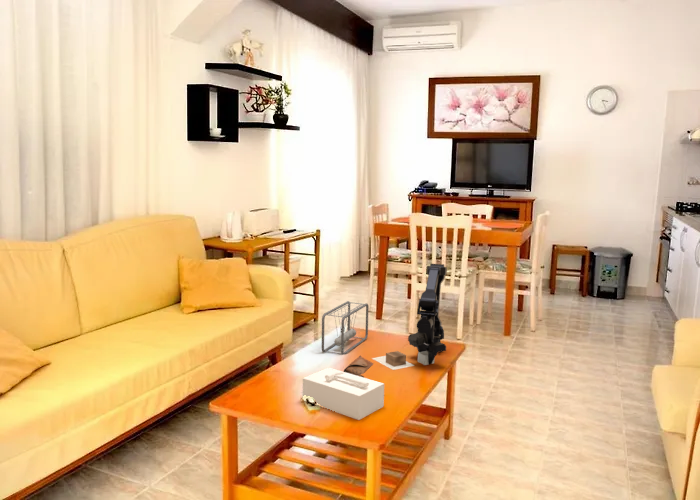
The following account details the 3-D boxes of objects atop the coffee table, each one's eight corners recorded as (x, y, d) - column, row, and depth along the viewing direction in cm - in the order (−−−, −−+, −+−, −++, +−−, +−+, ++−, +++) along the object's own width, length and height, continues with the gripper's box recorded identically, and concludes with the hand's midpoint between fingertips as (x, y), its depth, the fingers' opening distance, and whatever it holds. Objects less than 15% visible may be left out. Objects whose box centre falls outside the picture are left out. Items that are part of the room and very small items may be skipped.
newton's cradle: (342, 357, 262) (343, 317, 260) (321, 353, 266) (321, 314, 264) (368, 338, 290) (369, 302, 287) (348, 335, 294) (348, 300, 291)
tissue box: (328, 389, 226) (328, 361, 225) (383, 407, 211) (384, 377, 210) (302, 401, 215) (302, 371, 213) (358, 420, 200) (359, 389, 198)
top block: (426, 361, 258) (427, 350, 257) (434, 365, 254) (434, 354, 253) (417, 363, 256) (417, 352, 255) (424, 367, 251) (425, 355, 251)
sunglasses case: (363, 378, 237) (355, 363, 237) (348, 385, 240) (340, 370, 240) (376, 364, 254) (369, 350, 254) (363, 370, 256) (355, 356, 257)
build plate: (392, 356, 264) (392, 354, 264) (414, 367, 251) (415, 365, 250) (371, 360, 258) (371, 358, 258) (393, 372, 245) (393, 369, 245)
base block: (397, 360, 257) (397, 350, 256) (405, 364, 252) (406, 355, 251) (385, 362, 254) (386, 353, 253) (394, 366, 249) (394, 357, 248)
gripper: (398, 323, 256) (397, 358, 258) (426, 334, 240) (424, 372, 243) (419, 320, 262) (418, 354, 264) (447, 331, 246) (446, 367, 248)
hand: (425, 362), depth 255 cm, fingers closed on top block, 5 cm apart
